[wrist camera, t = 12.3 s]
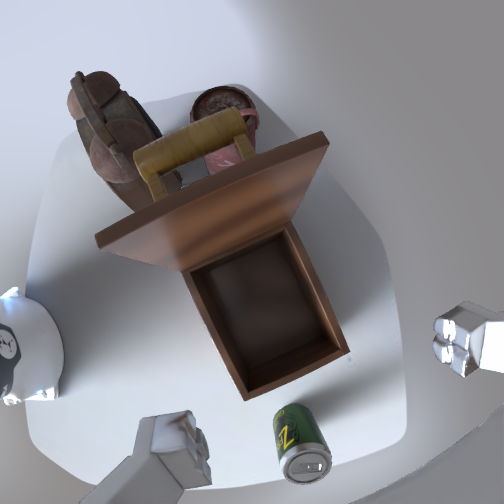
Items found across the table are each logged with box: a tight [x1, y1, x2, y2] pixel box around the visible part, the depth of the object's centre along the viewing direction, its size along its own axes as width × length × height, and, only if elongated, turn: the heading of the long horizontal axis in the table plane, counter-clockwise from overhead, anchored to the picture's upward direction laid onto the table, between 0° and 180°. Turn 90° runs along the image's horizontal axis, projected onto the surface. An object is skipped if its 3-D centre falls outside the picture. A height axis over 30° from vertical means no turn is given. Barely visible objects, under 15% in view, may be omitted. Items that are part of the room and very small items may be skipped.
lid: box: [95, 106, 330, 272], centre depth 20 cm, size 15×12×5 cm
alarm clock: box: [67, 71, 182, 212], centre depth 28 cm, size 15×7×20 cm, turn 34°
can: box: [190, 86, 259, 175], centre depth 31 cm, size 6×6×14 cm
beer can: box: [273, 404, 332, 485], centre depth 29 cm, size 5×5×12 cm
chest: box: [181, 221, 350, 401], centre depth 32 cm, size 15×12×9 cm
